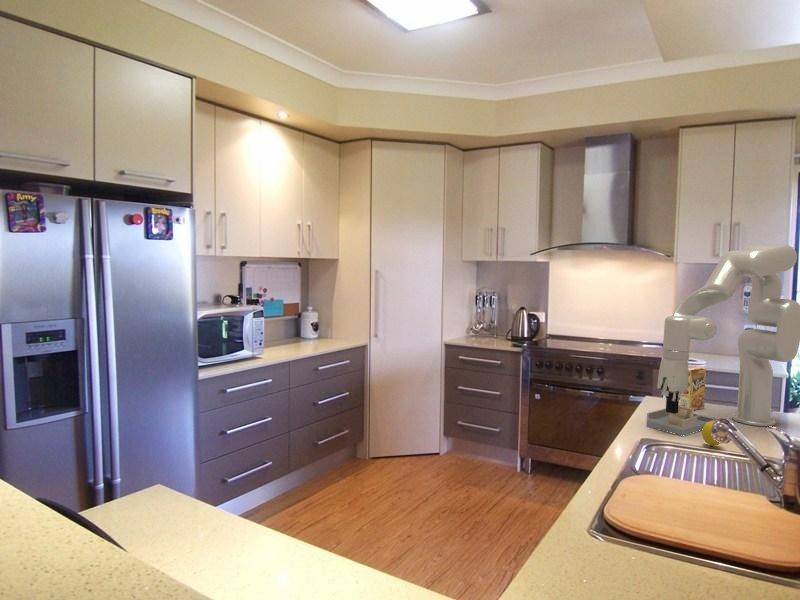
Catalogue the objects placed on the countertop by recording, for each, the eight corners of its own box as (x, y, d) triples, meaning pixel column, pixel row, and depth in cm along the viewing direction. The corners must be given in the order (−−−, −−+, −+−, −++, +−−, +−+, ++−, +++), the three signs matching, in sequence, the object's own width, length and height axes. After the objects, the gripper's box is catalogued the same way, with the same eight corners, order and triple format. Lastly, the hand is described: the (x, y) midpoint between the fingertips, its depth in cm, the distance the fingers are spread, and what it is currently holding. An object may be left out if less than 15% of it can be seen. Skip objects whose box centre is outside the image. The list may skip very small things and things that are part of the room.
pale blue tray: (682, 416, 193) (683, 402, 193) (718, 425, 183) (719, 410, 183) (646, 426, 181) (647, 411, 181) (682, 436, 171) (683, 420, 170)
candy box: (689, 411, 200) (691, 369, 198) (678, 408, 203) (680, 367, 202) (704, 408, 204) (706, 367, 203) (693, 405, 207) (696, 365, 206)
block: (677, 419, 182) (678, 405, 181) (692, 423, 178) (693, 408, 177) (669, 422, 179) (669, 407, 179) (684, 426, 175) (685, 410, 174)
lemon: (727, 450, 159) (728, 423, 158) (707, 450, 159) (709, 422, 158) (716, 444, 164) (717, 417, 164) (697, 443, 164) (699, 417, 164)
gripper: (677, 352, 181) (673, 407, 182) (650, 355, 173) (647, 412, 174) (700, 355, 175) (696, 412, 176) (674, 359, 167) (669, 418, 168)
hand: (671, 412), depth 175 cm, fingers closed
